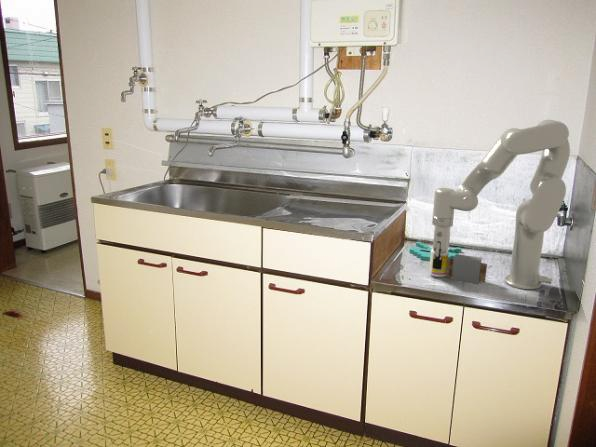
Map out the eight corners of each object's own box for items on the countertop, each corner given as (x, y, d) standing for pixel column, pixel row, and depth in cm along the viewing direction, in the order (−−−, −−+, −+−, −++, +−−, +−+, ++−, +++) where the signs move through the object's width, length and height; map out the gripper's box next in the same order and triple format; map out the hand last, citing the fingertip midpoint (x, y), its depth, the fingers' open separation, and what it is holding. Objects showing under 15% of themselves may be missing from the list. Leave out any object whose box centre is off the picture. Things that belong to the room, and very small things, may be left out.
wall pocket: (479, 280, 185) (481, 257, 183) (478, 284, 181) (480, 261, 178) (453, 276, 189) (455, 254, 187) (451, 280, 184) (453, 257, 182)
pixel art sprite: (416, 246, 227) (404, 258, 210) (417, 241, 227) (405, 253, 210) (461, 252, 218) (452, 266, 201) (461, 248, 218) (452, 261, 201)
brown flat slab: (485, 281, 182) (487, 263, 181) (484, 282, 181) (486, 264, 179) (446, 275, 188) (448, 258, 186) (446, 276, 187) (447, 259, 185)
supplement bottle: (449, 277, 186) (452, 245, 183) (433, 278, 185) (436, 246, 182) (441, 270, 193) (444, 239, 189) (425, 271, 191) (428, 240, 188)
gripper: (449, 227, 174) (445, 274, 179) (456, 217, 189) (451, 260, 194) (428, 225, 177) (424, 271, 182) (436, 215, 192) (432, 257, 197)
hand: (438, 265), depth 188 cm, fingers closed on supplement bottle, 6 cm apart
